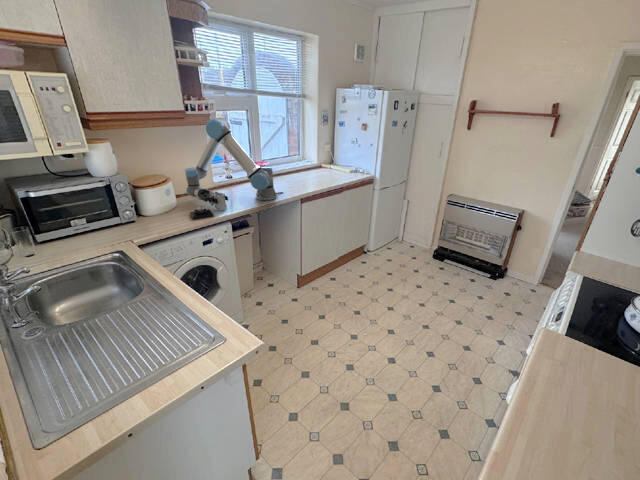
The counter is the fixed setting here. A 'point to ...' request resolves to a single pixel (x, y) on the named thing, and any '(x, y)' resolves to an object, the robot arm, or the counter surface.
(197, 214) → the hob panel
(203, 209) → the hob knob
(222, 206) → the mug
